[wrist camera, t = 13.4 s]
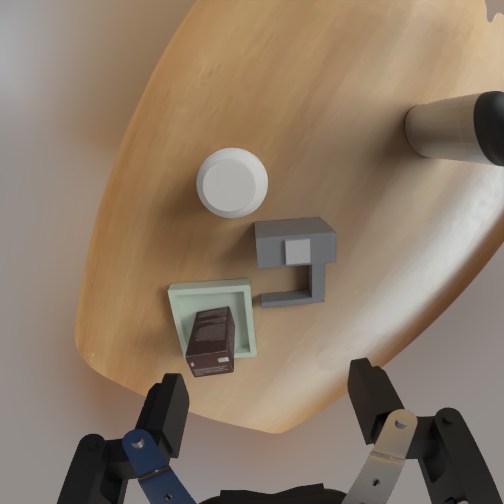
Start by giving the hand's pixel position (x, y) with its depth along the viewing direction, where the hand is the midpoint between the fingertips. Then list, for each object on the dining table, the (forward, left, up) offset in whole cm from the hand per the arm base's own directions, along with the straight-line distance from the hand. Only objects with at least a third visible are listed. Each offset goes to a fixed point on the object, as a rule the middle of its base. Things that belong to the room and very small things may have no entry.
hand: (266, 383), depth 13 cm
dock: (-5, +6, -33) cm, 34 cm away
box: (+8, +16, -32) cm, 37 cm away
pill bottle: (+2, -7, -33) cm, 34 cm away
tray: (+8, +16, -33) cm, 37 cm away
